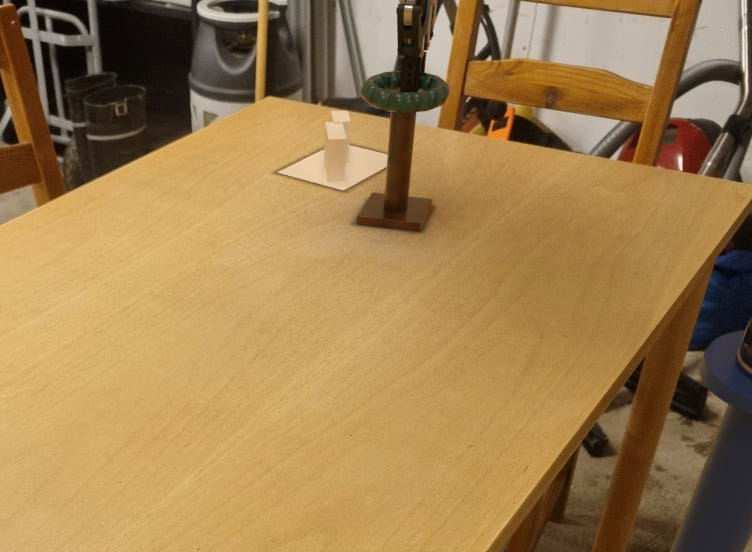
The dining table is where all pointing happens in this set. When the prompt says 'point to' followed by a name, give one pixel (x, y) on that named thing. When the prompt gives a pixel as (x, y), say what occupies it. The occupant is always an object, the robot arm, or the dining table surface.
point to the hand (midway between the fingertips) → (411, 89)
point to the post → (397, 183)
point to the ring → (404, 93)
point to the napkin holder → (338, 158)
